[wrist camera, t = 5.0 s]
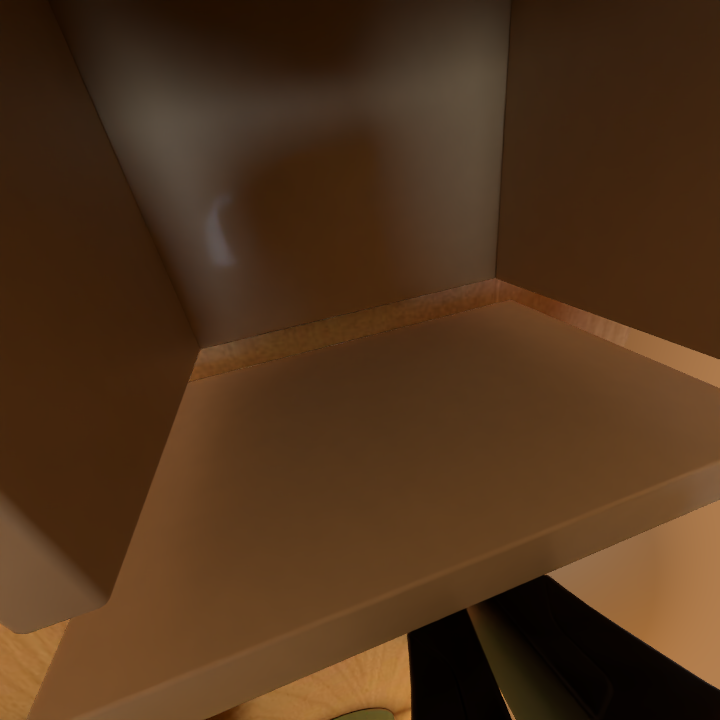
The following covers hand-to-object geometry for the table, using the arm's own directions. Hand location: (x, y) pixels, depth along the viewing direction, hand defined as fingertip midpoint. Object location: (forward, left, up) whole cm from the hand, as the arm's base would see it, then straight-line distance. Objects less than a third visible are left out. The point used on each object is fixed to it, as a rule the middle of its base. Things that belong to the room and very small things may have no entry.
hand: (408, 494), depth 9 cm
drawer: (0, -7, -4) cm, 8 cm away
